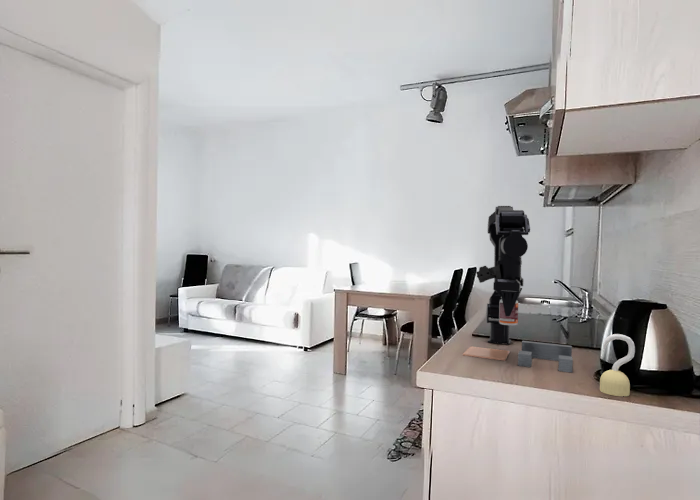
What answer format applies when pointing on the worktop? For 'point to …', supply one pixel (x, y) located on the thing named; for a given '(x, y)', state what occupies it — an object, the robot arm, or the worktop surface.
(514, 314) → the pill bottle
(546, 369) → the worktop surface
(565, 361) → the vise
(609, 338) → the hook
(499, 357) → the tile
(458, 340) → the worktop surface
